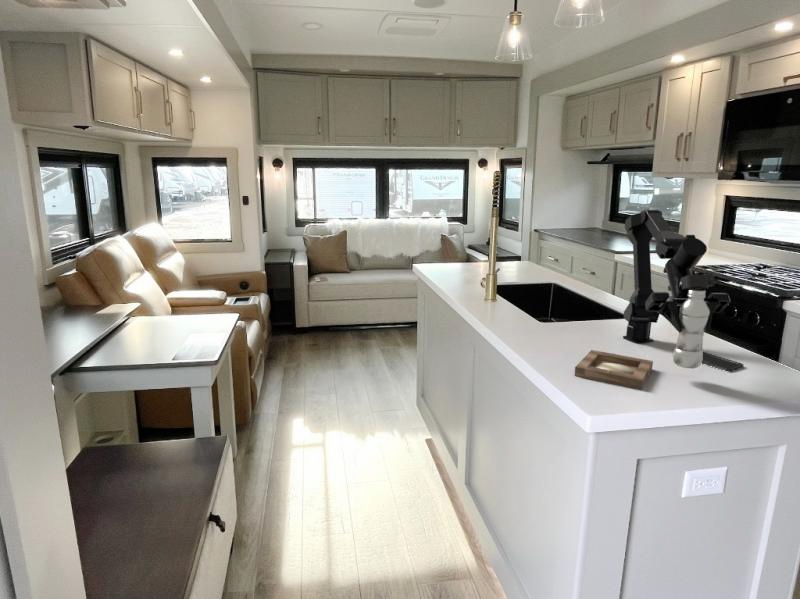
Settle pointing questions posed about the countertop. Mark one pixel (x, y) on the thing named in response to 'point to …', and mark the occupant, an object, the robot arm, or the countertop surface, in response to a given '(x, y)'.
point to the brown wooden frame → (614, 369)
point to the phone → (720, 362)
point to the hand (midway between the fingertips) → (694, 332)
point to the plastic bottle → (691, 330)
